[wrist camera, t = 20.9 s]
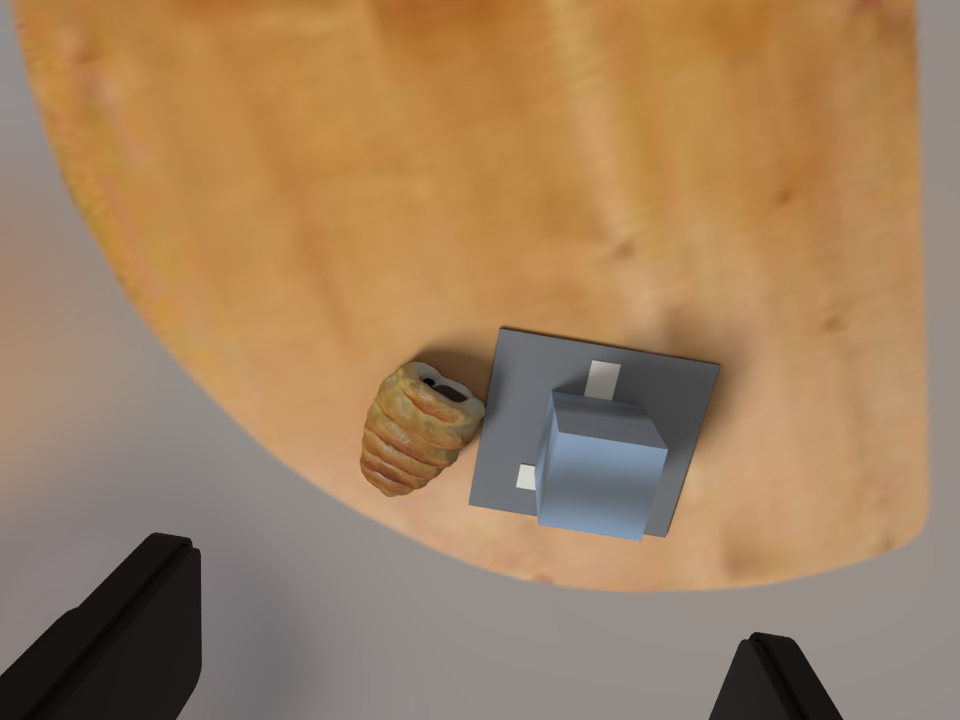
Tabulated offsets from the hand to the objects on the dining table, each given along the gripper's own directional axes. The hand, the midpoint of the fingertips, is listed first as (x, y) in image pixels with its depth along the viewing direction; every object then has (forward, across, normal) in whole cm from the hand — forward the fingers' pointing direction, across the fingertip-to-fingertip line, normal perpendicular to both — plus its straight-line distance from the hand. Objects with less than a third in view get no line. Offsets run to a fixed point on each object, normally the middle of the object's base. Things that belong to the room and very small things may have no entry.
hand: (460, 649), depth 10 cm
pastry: (+27, +4, +9) cm, 28 cm away
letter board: (+26, -8, +8) cm, 28 cm away
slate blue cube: (+26, -8, +8) cm, 28 cm away
